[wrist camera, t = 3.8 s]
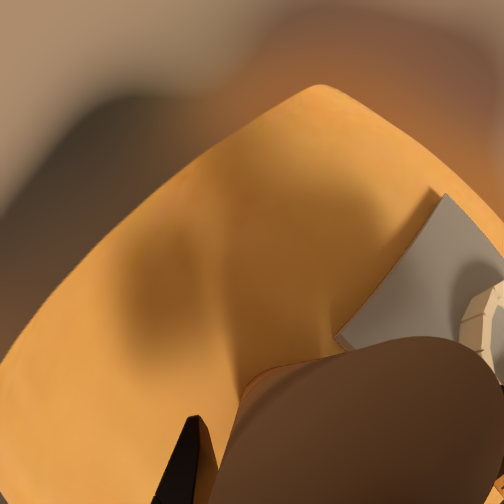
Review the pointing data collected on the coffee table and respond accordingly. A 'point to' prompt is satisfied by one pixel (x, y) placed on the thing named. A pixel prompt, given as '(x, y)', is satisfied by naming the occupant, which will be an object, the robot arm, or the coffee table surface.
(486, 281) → the base board
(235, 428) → the walnut column
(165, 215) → the coffee table surface
